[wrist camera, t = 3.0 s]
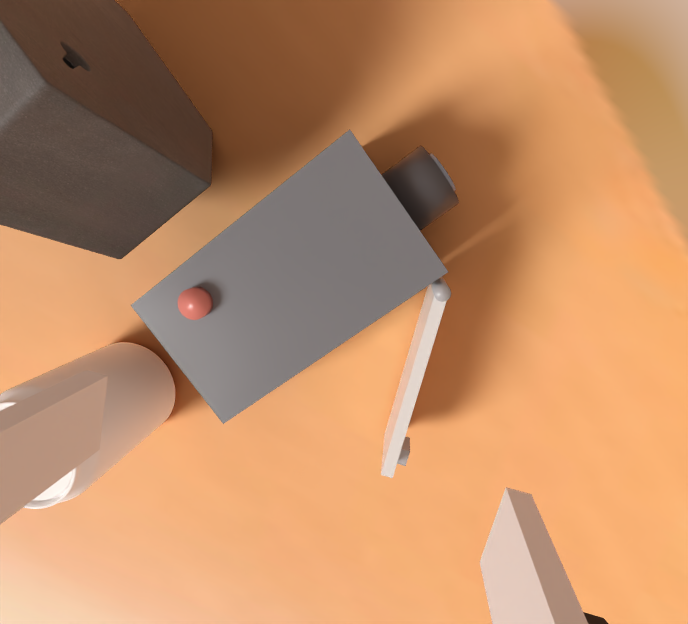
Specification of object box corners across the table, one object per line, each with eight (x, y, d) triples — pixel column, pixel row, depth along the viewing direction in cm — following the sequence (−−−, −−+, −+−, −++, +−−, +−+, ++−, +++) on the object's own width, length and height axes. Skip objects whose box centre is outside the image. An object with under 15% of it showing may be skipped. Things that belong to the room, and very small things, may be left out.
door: (405, 437, 37) (405, 484, 30) (383, 431, 37) (379, 476, 31) (454, 276, 34) (466, 291, 27) (430, 270, 34) (436, 283, 27)
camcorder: (256, 386, 38) (219, 429, 30) (181, 288, 37) (123, 307, 29) (478, 234, 33) (500, 240, 26) (399, 117, 32) (397, 87, 25)
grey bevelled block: (-66, -31, 29) (-388, 5, 14) (10, -122, 28) (-258, -199, 12) (148, 167, 40) (103, 316, 24) (213, 110, 38) (211, 231, 22)
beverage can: (190, 421, 39) (100, 508, 28) (107, 434, 41) (-11, 522, 29) (164, 332, 38) (57, 384, 26) (79, 348, 39) (-58, 405, 28)
